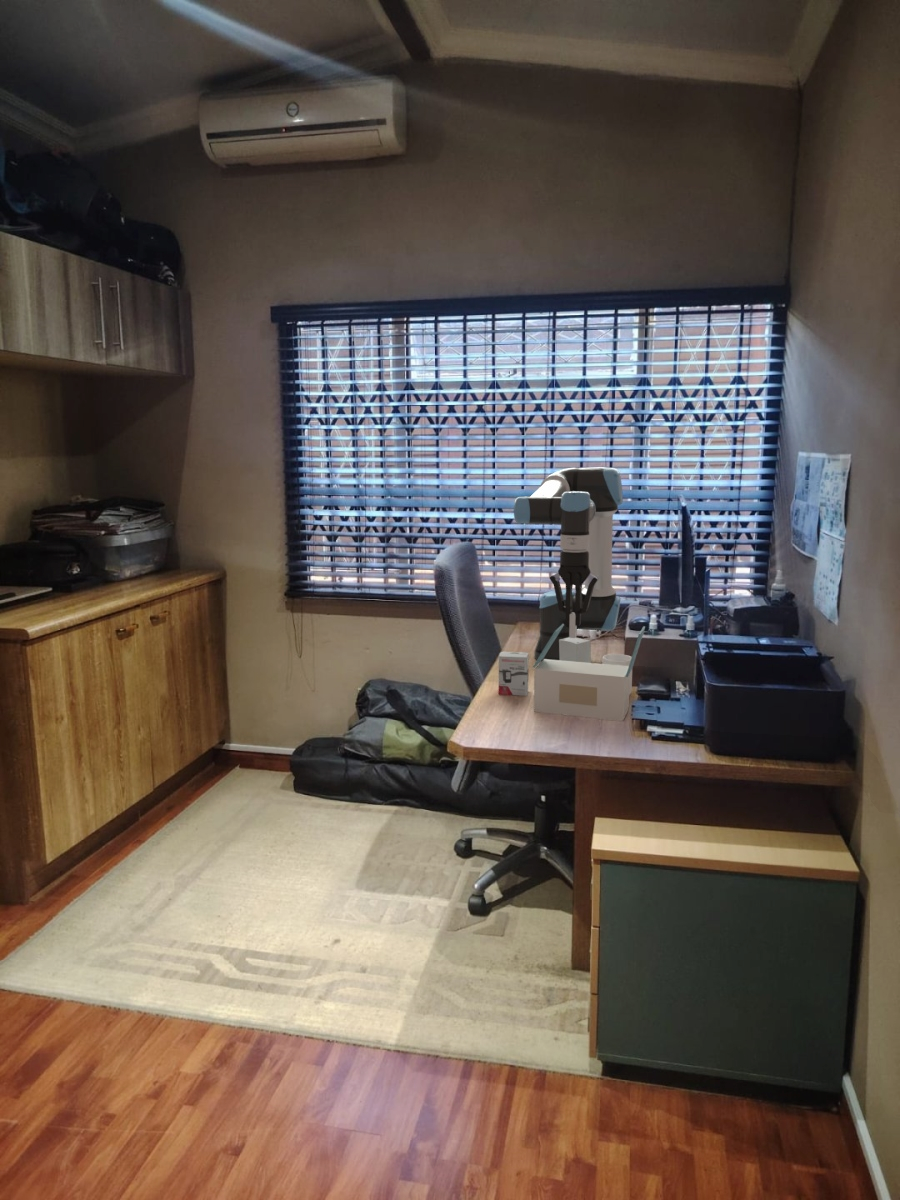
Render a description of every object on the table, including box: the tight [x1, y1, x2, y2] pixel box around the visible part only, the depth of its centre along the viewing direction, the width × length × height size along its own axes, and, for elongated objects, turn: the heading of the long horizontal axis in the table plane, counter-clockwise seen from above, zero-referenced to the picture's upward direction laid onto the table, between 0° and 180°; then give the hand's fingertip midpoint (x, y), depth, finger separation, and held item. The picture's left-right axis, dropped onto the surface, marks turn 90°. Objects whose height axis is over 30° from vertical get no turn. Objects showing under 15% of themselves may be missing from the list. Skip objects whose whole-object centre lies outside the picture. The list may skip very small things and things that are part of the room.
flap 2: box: [626, 625, 646, 677], centre depth 204 cm, size 12×10×1 cm
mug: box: [601, 653, 633, 696], centre depth 224 cm, size 9×12×11 cm
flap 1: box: [532, 624, 564, 669], centre depth 212 cm, size 12×10×1 cm
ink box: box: [497, 651, 530, 697], centre depth 227 cm, size 9×5×12 cm, turn 79°
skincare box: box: [559, 636, 592, 663], centre depth 231 cm, size 8×6×15 cm
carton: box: [533, 659, 630, 722], centre depth 211 cm, size 11×24×12 cm, turn 69°
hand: (572, 636), depth 209 cm, fingers closed
